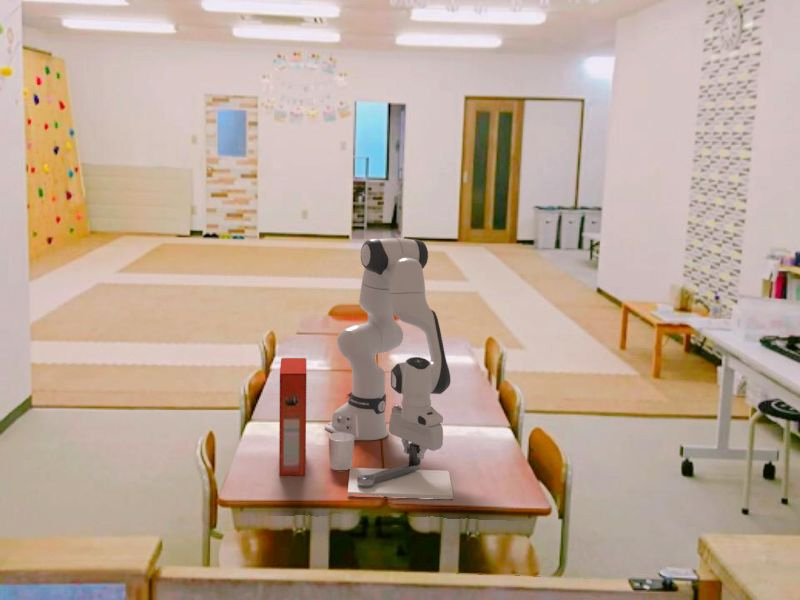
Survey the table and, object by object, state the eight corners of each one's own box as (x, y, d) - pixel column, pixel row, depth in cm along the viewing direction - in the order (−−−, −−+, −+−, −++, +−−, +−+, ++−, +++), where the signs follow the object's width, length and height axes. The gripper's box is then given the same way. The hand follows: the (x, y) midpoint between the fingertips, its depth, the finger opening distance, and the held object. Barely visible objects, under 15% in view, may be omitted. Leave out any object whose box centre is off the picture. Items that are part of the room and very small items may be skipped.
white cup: (334, 473, 263) (334, 442, 261) (324, 464, 270) (324, 434, 268) (357, 470, 266) (358, 439, 264) (347, 461, 273) (348, 430, 271)
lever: (364, 488, 248) (365, 463, 246) (353, 483, 252) (354, 457, 250) (424, 470, 263) (425, 445, 262) (413, 465, 267) (414, 441, 265)
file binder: (278, 476, 259) (279, 373, 253) (279, 455, 276) (281, 357, 270) (305, 476, 260) (307, 373, 254) (305, 455, 277) (307, 358, 271)
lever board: (347, 497, 247) (347, 491, 246) (349, 472, 264) (350, 467, 264) (452, 500, 248) (453, 494, 247) (448, 475, 265) (448, 470, 265)
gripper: (384, 405, 266) (383, 448, 269) (432, 423, 251) (430, 468, 254) (399, 401, 270) (398, 443, 273) (447, 418, 256) (445, 463, 258)
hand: (414, 455), depth 263 cm, fingers open, 4 cm apart
